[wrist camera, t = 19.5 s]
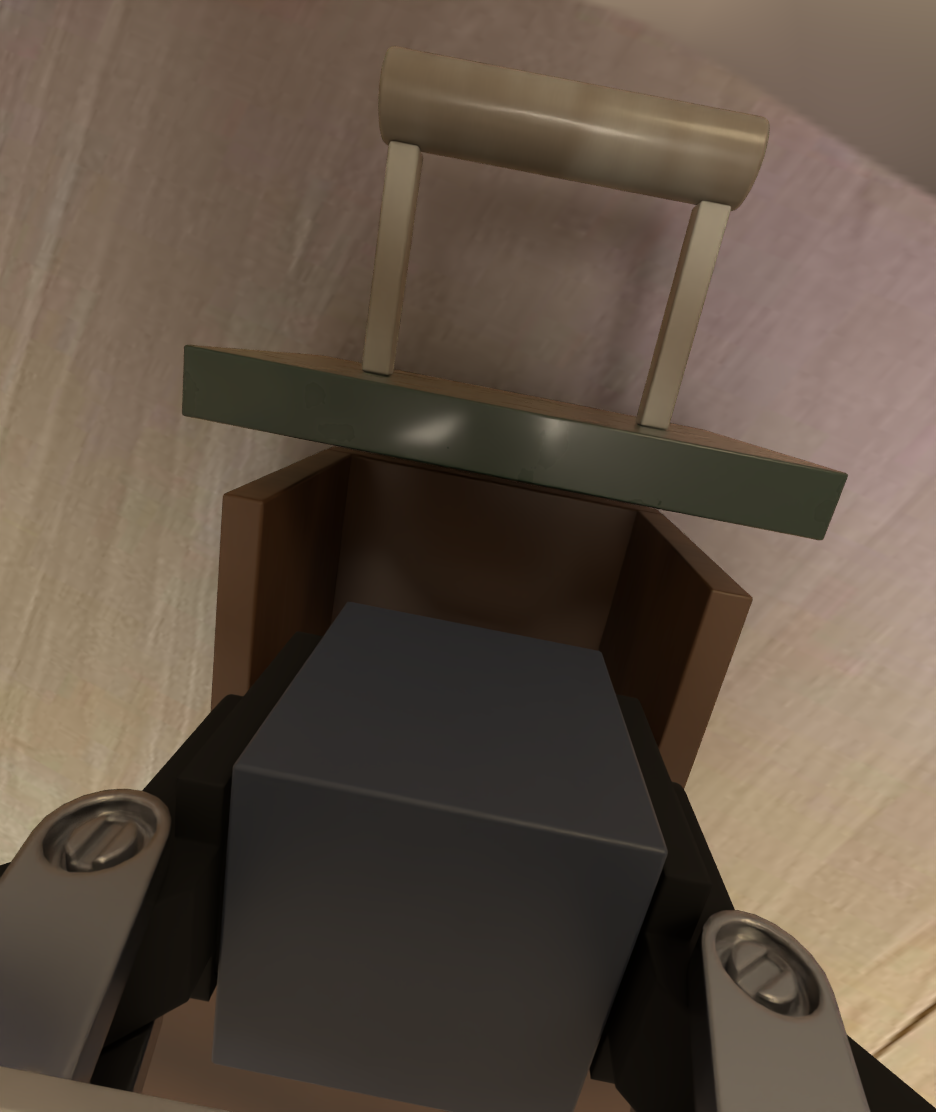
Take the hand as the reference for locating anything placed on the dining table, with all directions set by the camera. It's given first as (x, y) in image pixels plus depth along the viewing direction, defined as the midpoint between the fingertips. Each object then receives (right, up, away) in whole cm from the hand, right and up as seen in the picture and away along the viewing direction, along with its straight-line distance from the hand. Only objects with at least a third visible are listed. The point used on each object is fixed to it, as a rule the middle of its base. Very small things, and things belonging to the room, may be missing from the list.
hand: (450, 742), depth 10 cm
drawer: (+1, +4, +8) cm, 9 cm away
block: (0, 0, 0) cm, 0 cm away
